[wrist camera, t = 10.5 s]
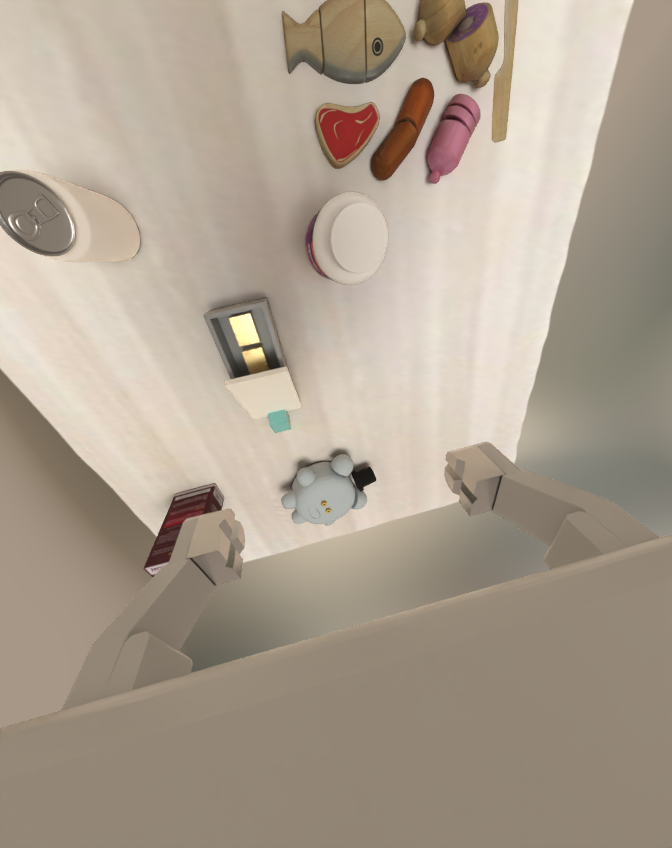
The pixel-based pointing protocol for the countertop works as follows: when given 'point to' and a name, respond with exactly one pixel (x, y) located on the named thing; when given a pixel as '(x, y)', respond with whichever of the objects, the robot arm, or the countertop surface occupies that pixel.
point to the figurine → (327, 491)
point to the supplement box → (181, 522)
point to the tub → (229, 343)
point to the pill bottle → (347, 238)
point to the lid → (267, 396)
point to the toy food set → (373, 54)
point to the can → (65, 219)
